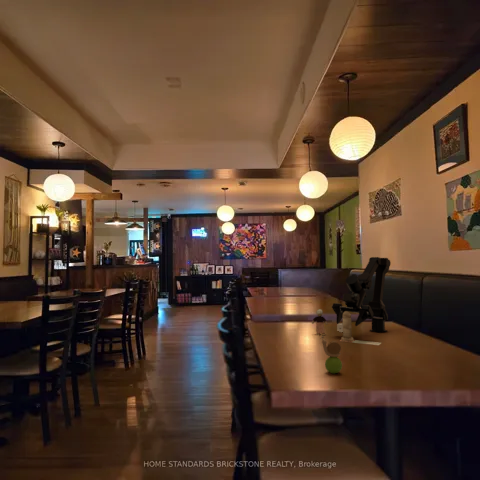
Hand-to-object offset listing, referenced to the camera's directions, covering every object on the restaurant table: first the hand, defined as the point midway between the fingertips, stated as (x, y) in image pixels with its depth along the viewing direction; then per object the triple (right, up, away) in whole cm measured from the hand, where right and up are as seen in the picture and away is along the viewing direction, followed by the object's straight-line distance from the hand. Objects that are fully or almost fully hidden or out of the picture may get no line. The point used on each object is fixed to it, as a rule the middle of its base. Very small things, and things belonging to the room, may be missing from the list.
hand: (346, 324), depth 175 cm
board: (+5, -8, -3) cm, 10 cm away
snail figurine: (-18, -5, -49) cm, 53 cm away
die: (+5, -9, +25) cm, 27 cm away
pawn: (0, -7, 0) cm, 7 cm away
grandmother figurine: (-9, -9, +17) cm, 21 cm away
